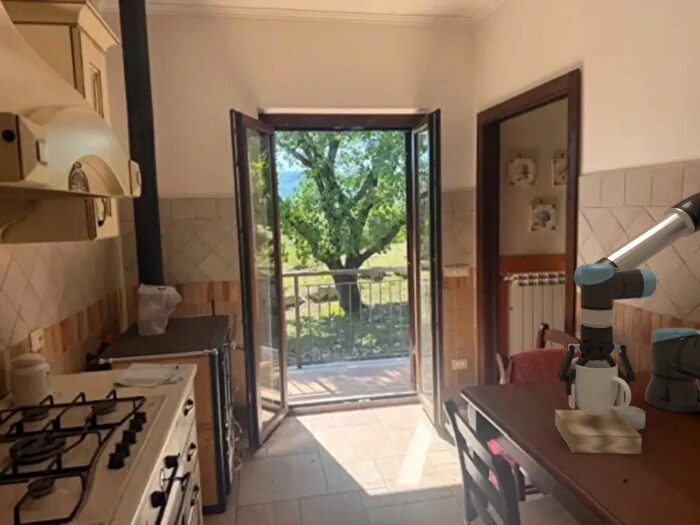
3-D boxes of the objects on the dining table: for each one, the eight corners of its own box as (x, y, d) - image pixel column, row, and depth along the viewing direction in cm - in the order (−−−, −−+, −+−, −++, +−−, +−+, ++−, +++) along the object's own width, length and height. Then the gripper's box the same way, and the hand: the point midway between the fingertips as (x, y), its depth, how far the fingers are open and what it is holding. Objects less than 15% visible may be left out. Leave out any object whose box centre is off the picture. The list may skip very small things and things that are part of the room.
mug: (641, 416, 130) (642, 366, 128) (617, 428, 124) (617, 375, 122) (586, 400, 142) (586, 354, 141) (562, 410, 136) (562, 362, 135)
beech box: (615, 428, 141) (616, 410, 141) (641, 455, 125) (641, 435, 125) (555, 427, 143) (555, 409, 143) (572, 453, 127) (572, 434, 127)
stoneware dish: (637, 419, 146) (637, 405, 146) (650, 430, 138) (650, 416, 138) (607, 418, 147) (608, 405, 147) (618, 430, 139) (618, 416, 139)
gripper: (639, 320, 133) (638, 402, 136) (544, 321, 137) (544, 401, 139) (652, 327, 126) (650, 413, 128) (552, 328, 129) (552, 412, 131)
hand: (595, 407), depth 133 cm, fingers closed on mug, 11 cm apart
